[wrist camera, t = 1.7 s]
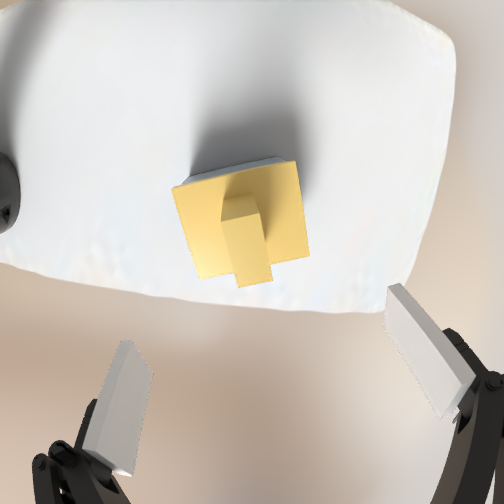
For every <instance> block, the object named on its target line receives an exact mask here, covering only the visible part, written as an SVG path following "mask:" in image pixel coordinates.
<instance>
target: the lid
mask: <svg viewBox="0 0 504 504" xmlns="http://www.w3.org/2000/svg"><path fill="white" fill-rule="evenodd" d="M171 190H172V194H173V197H174V201H175V204H176V207H177V211H178V214H179V217H180V221H181V224H182V227H183V230H184V234H185V237H186V240H187V243H188V246H189V249H190V252H191V255H192V258H193V261H194V264H195V267H196V270H197V273H198V276H199V279H200V280H201V279H206V278H211V277H215V276H220V275H225V274H230V273H234V274H235V278H236V282H237V285H238V288H240V287H245V286H250V285H254V284H259V283H264V282H268V281H273V278H272V273H271V268H270V265H271V264H276V263H280V262H285V261H289V260H294V259H298V258H303V257H307V256H310V255H309V247H308V239H307V232H306V224H305V217H304V210H303V204H302V197H301V191H300V184H299V178H298V172H297V167H296V161H294V160H291V161H285V162H280V163H274V164H269V165H264V166H259V167H254V168H250V169H245V170H240V171H236V172H231V173H227V174H223V175H218V176H214V177H210V178H206V179H202V180H198V181H194V182H191V183H187V184H183V185H179V186H176V187H173V188H172V189H171Z"/></svg>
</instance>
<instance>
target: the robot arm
mask: <svg viewBox="0 0 504 504" xmlns="http://www.w3.org/2000/svg"><path fill="white" fill-rule="evenodd" d="M19 207H20V188H19V182H18V178H17V174H16V171H15V169H14V166H13V164H12V163H11V161H10V160H9V159H8V157H7V156H6V155H4V154H3V153H0V234H1V233H3V232H5V231H6V230H8V229H9V228H11V227H12V226H13V224H14V223H15V221H16V219H17V216H18V212H19ZM383 328H384V329H385V331H386V332H387V334H388V335H389V337H390V338H391V340H392V342H393V343H394V345H395V346H396V348H397V349H398V351H399V353H400V354H401V356H402V358H403V359H404V361H405V362H406V364H407V366H408V367H409V369H410V371H411V372H412V374H413V376H414V377H415V379H416V381H417V382H418V384H419V386H420V388H421V389H422V391H423V393H424V394H425V396H426V398H427V400H428V402H429V404H430V405H431V407H432V409H433V411H434V412H435V414H436V416H437V418H438V420H439V421H440V420H442V419H443V418H445V417H447V416H449V415H450V414H452V413H453V412H454V410H455V409H456V407H457V406H458V408H459V410H460V411H459V413H458V414H457V416H456V417H455V418H454V420H453V422H452V423H455V422H456V421H457V423H456V428H455V432H454V436H453V440H452V444H451V448H450V451H449V454H448V457H447V461H446V464H445V467H444V470H443V473H442V476H441V479H440V481H439V484H438V486H437V489H436V491H435V494H434V496H433V499H432V501H431V503H430V504H485V502H486V499H487V495H488V492H489V489H490V486H491V482H492V478H493V475H494V470H495V485H494V495H493V504H504V374H502V375H501V374H499V373H498V372H495V371H488V370H487V369H486V368H485V366H484V365H483V364H482V362H481V361H480V360H479V358H478V357H477V356H476V355H475V353H474V352H473V351H472V350H471V349H470V348H469V346H468V345H467V343H466V342H464V340H463V339H462V337H461V336H460V335H459V334H458V333H457V332H455V331H454V330H452V329H450V328H447V329H445V330H443V331H441V329H440V328H439V327H438V326H437V325H436V324H435V322H434V321H433V320H432V319H431V317H429V315H428V314H427V313H426V312H425V311H424V309H423V308H422V307H421V306H420V305H419V304H418V302H417V301H416V300H415V299H414V298H413V297H412V296H411V295H410V294H409V292H407V290H406V289H405V288H404V287H403V286H402V285H401V284H400V283H398V284H395V285H391V286H388V287H387V296H386V307H385V316H384V325H383ZM153 375H154V373H153V372H152V370H151V369H150V367H149V366H148V364H147V363H146V361H145V360H144V358H143V356H142V355H141V353H140V352H139V351H138V348H137V347H136V345H135V344H134V342H133V340H125V341H120V343H119V346H118V348H117V350H116V353H115V355H114V358H113V360H112V363H111V365H110V368H109V370H108V373H107V375H106V378H105V381H104V383H103V386H102V389H101V392H100V394H99V397H98V399H93V400H92V401H91V403H90V404H89V405H88V407H87V409H86V412H85V417H84V418H83V421H82V424H81V427H80V430H79V433H78V436H77V439H76V442H75V446H74V448H72V447H71V446H70V445H69V444H67V443H66V442H64V441H62V440H58V441H55V442H54V443H53V444H52V445H51V447H50V448H49V452H48V456H46V455H45V454H43V453H40V454H38V455H36V456H35V457H34V459H33V462H32V473H33V485H34V494H35V501H36V504H131V503H130V502H129V500H128V498H127V497H126V496H125V494H124V492H123V491H122V489H121V487H120V486H119V484H118V482H117V481H116V479H115V477H114V476H113V475H112V474H111V473H112V470H113V471H115V472H117V473H118V474H120V475H126V476H133V475H134V469H135V462H136V457H137V451H138V445H139V440H140V435H141V430H142V425H143V420H144V415H145V410H146V406H147V401H148V396H149V392H150V388H151V384H152V379H153ZM59 488H60V489H62V494H61V493H60V489H59Z"/></svg>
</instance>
